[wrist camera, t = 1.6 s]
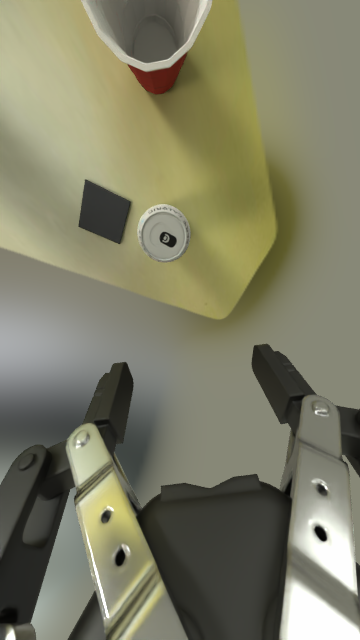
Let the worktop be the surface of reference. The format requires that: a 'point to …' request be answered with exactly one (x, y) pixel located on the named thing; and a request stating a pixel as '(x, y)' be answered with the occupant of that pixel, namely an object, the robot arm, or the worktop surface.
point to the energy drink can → (163, 233)
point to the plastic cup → (149, 35)
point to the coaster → (103, 212)
